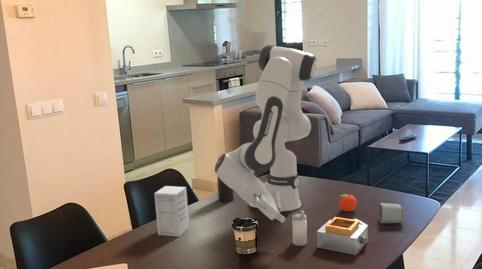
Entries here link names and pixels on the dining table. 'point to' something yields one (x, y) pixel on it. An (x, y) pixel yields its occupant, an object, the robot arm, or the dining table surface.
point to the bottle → (224, 191)
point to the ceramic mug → (390, 213)
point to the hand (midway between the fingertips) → (282, 215)
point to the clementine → (348, 202)
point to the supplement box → (172, 211)
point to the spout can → (299, 229)
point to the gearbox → (342, 236)
